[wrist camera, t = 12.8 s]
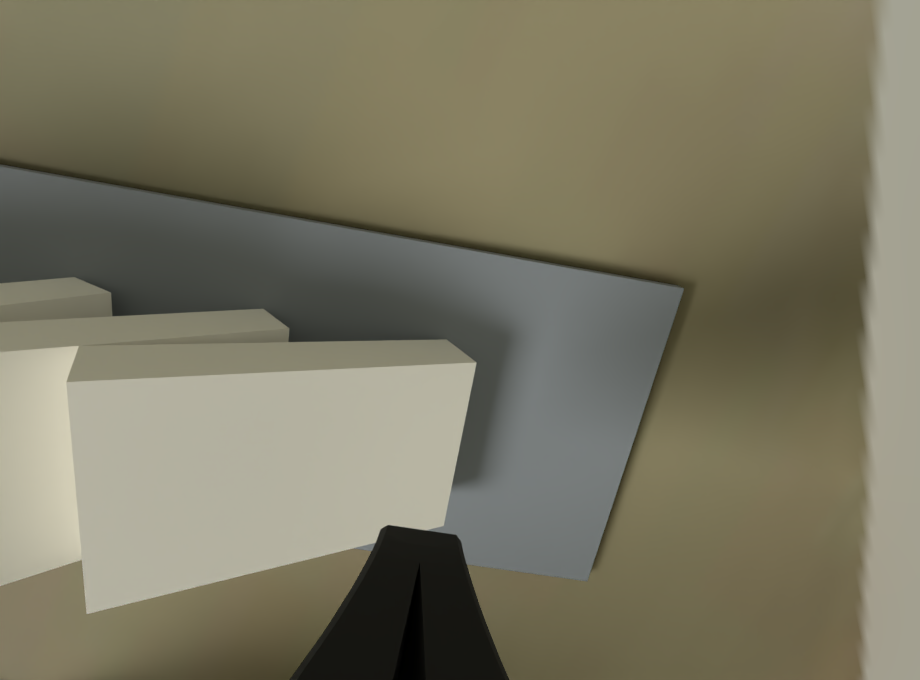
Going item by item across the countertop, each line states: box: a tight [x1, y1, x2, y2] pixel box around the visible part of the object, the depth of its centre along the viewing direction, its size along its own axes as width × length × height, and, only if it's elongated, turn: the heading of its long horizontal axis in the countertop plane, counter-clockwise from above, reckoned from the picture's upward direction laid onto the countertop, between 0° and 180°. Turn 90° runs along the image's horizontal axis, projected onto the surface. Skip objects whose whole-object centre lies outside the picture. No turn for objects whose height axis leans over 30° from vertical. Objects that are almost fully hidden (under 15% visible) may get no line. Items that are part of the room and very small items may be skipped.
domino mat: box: [0, 164, 684, 581], centre depth 14 cm, size 10×29×1 cm, turn 80°
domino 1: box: [0, 309, 289, 586], centre depth 11 cm, size 5×2×8 cm
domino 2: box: [66, 339, 477, 614], centre depth 11 cm, size 5×2×8 cm
